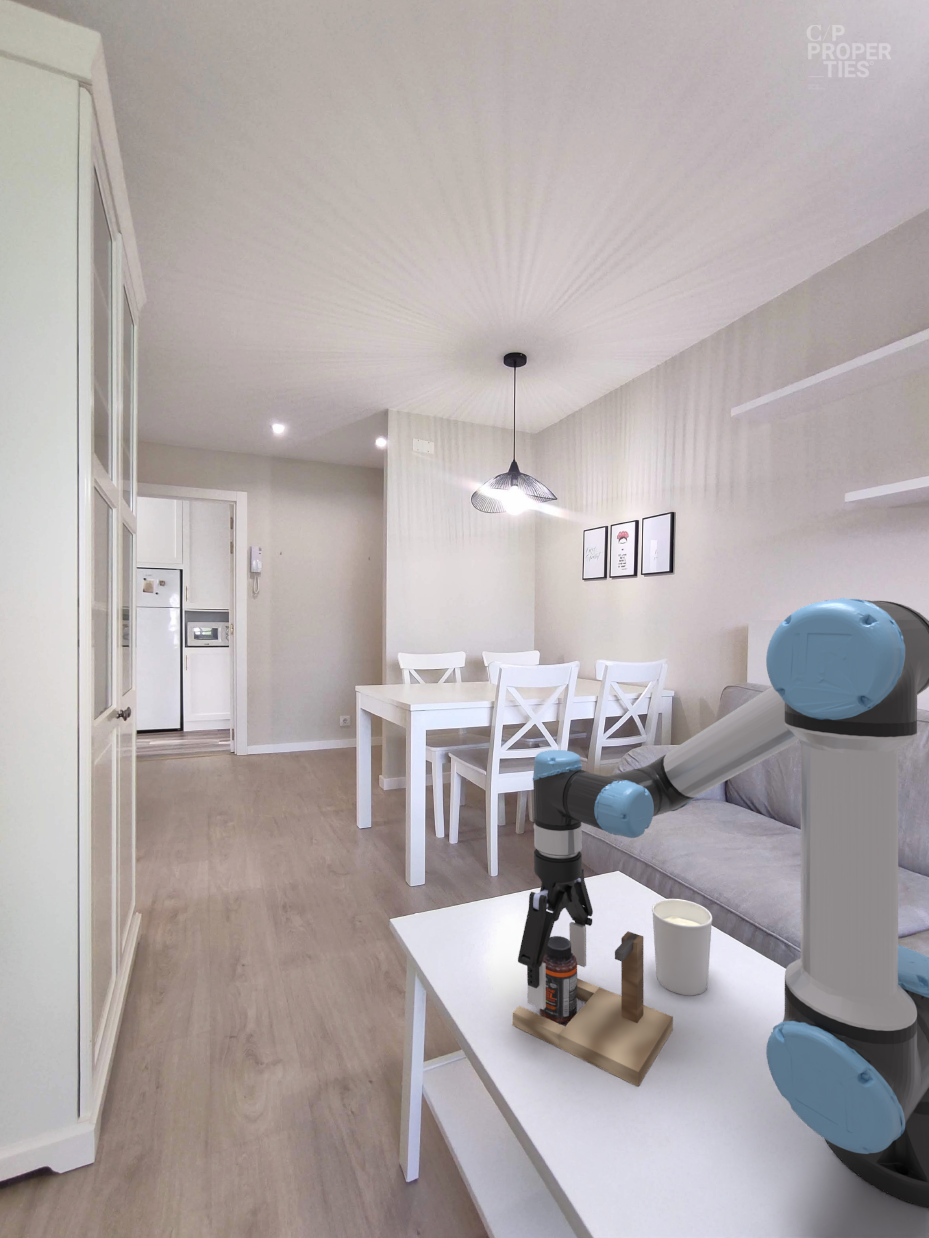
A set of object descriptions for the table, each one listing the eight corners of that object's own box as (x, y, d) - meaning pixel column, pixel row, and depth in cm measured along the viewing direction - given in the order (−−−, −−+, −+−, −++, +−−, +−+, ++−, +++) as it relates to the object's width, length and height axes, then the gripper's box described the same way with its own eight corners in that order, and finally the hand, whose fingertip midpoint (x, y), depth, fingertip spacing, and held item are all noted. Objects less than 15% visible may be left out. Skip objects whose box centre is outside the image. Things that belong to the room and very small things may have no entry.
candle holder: (717, 1002, 98) (718, 929, 98) (655, 994, 100) (655, 923, 100) (706, 968, 107) (706, 901, 107) (649, 961, 109) (649, 896, 109)
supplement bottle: (531, 1011, 95) (531, 941, 95) (555, 995, 99) (555, 927, 99) (561, 1030, 91) (561, 956, 91) (584, 1013, 95) (584, 942, 95)
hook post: (643, 1014, 92) (643, 936, 92) (627, 1037, 87) (626, 955, 87) (627, 1008, 93) (627, 931, 93) (610, 1030, 88) (610, 949, 88)
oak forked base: (672, 1029, 91) (672, 1016, 91) (638, 1086, 80) (638, 1071, 80) (556, 981, 103) (556, 969, 103) (512, 1025, 92) (512, 1012, 92)
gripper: (572, 823, 108) (573, 941, 107) (493, 869, 88) (494, 1014, 88) (612, 832, 103) (612, 955, 103) (538, 883, 83) (539, 1036, 83)
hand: (558, 983), depth 95 cm, fingers open, 13 cm apart
